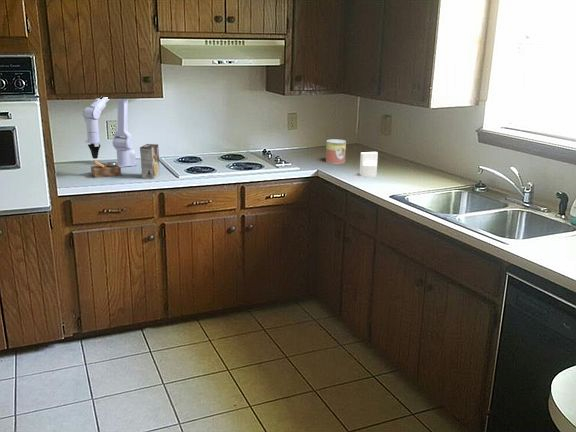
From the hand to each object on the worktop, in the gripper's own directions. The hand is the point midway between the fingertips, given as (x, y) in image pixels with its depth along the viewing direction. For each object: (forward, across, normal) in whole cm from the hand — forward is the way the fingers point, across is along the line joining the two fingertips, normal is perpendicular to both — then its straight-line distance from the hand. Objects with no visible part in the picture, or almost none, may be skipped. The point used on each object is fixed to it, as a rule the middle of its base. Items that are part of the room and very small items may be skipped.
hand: (95, 158), depth 302 cm
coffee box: (+9, +14, +24) cm, 29 cm away
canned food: (+9, +23, +130) cm, 133 cm away
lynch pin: (+8, 0, +8) cm, 12 cm away
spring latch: (+3, 0, +1) cm, 3 cm away
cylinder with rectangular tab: (+9, +58, +128) cm, 141 cm away
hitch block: (+9, 0, +5) cm, 10 cm away
